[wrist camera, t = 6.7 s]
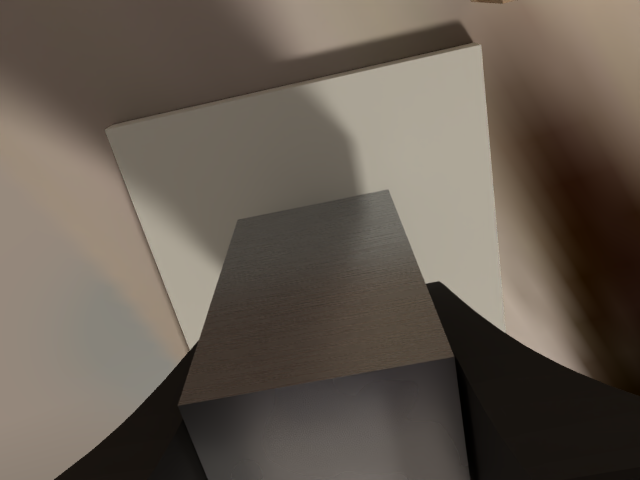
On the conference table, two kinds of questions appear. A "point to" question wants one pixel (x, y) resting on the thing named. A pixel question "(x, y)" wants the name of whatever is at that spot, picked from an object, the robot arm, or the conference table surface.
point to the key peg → (324, 354)
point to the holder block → (493, 1)
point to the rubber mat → (323, 171)
